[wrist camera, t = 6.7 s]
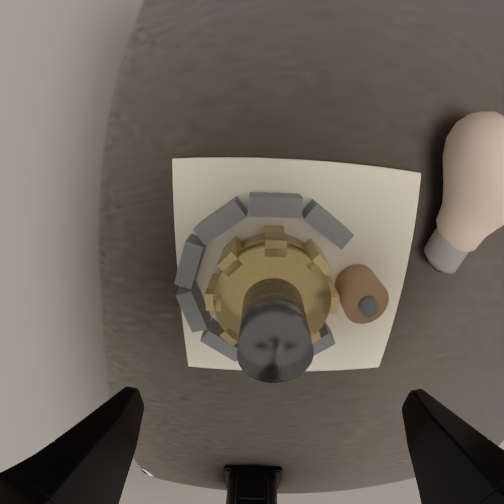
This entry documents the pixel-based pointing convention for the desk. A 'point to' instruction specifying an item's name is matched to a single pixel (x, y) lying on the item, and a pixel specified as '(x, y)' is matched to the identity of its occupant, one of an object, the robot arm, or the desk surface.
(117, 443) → the robot arm
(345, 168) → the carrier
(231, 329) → the planet gear
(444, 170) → the light bulb
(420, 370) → the desk surface
